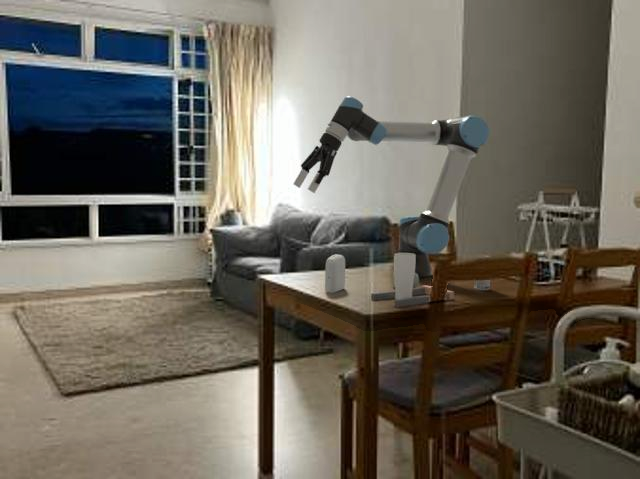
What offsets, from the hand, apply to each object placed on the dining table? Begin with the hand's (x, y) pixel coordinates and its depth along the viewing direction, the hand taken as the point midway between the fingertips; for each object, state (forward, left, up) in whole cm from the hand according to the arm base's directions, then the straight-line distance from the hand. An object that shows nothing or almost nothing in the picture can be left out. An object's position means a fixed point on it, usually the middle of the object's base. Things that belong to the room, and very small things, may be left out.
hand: (303, 188), depth 231 cm
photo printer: (-3, +16, -35) cm, 38 cm away
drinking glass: (-13, +41, -34) cm, 55 cm away
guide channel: (-16, +41, -34) cm, 56 cm away
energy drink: (-50, +40, -34) cm, 73 cm away
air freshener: (-27, +25, -35) cm, 51 cm away
